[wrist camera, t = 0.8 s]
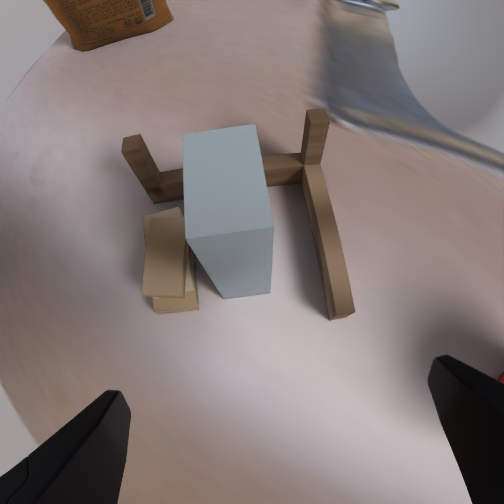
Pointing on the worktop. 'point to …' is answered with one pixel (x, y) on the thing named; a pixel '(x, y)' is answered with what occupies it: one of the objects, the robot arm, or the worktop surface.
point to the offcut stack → (169, 263)
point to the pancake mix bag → (108, 19)
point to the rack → (276, 173)
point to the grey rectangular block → (228, 209)
